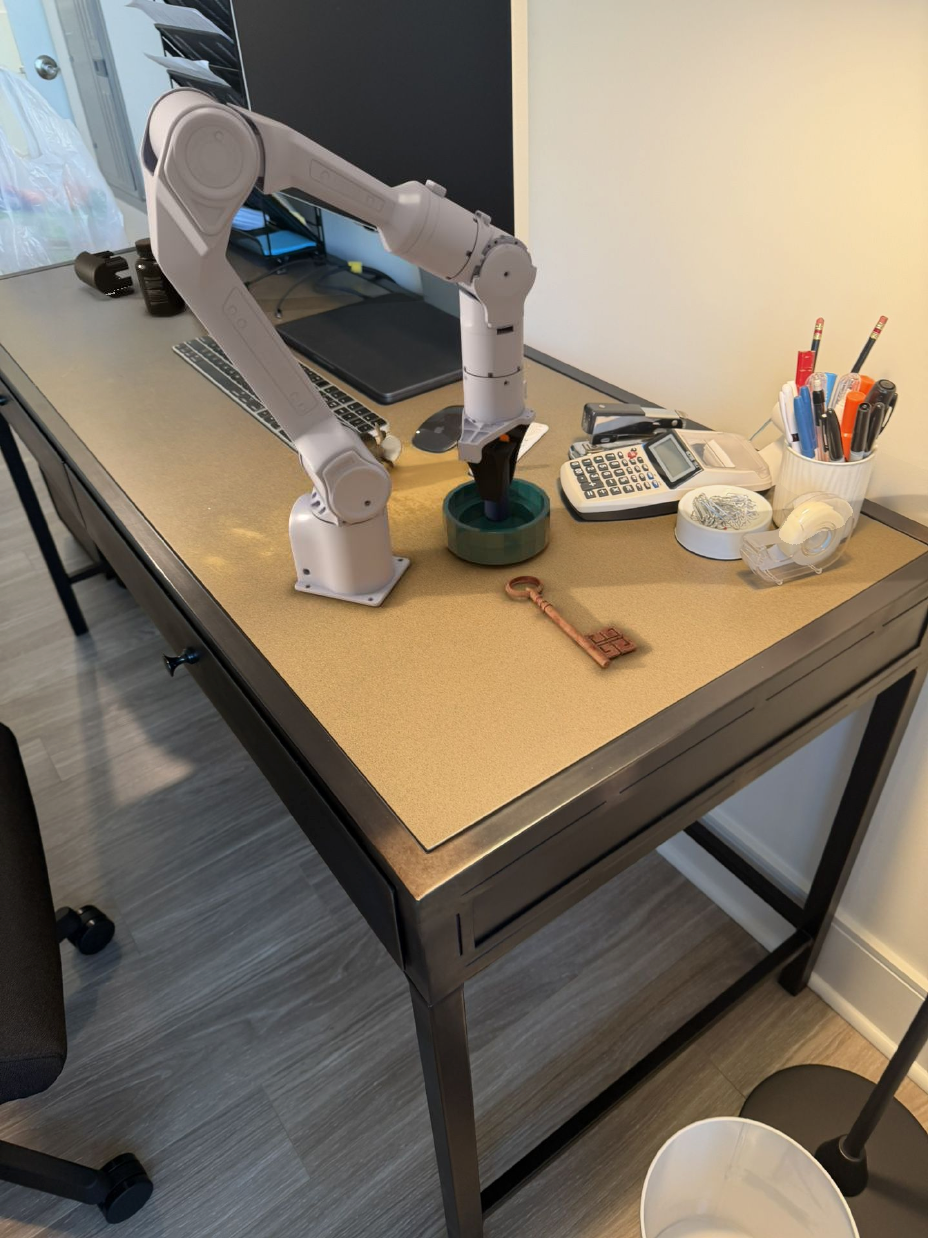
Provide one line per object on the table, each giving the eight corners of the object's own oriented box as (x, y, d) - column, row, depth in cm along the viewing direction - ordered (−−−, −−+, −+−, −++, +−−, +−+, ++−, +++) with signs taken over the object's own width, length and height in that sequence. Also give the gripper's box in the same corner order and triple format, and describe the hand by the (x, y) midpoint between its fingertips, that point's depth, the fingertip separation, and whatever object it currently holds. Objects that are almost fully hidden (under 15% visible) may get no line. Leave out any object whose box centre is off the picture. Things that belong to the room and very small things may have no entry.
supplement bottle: (194, 307, 155) (177, 237, 147) (166, 319, 150) (147, 248, 143) (168, 302, 158) (150, 232, 150) (139, 313, 153) (119, 243, 146)
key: (640, 655, 77) (547, 572, 87) (642, 647, 77) (548, 564, 87) (588, 674, 75) (498, 586, 85) (589, 666, 74) (499, 579, 84)
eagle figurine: (365, 442, 108) (305, 455, 103) (386, 405, 103) (324, 417, 97) (395, 491, 107) (335, 506, 101) (418, 456, 101) (356, 470, 96)
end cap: (80, 290, 165) (69, 254, 161) (115, 281, 169) (105, 245, 164) (100, 302, 159) (89, 265, 155) (136, 293, 163) (126, 256, 158)
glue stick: (481, 520, 90) (478, 442, 84) (489, 507, 92) (487, 430, 86) (505, 524, 89) (504, 446, 83) (513, 511, 91) (512, 433, 85)
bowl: (429, 558, 90) (426, 522, 87) (466, 504, 98) (465, 470, 95) (531, 577, 87) (531, 540, 84) (561, 520, 95) (562, 484, 92)
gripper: (508, 403, 74) (510, 535, 82) (556, 340, 84) (553, 464, 93) (433, 393, 76) (442, 523, 84) (488, 334, 86) (491, 455, 95)
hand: (496, 492), depth 89 cm, fingers closed on glue stick, 2 cm apart
